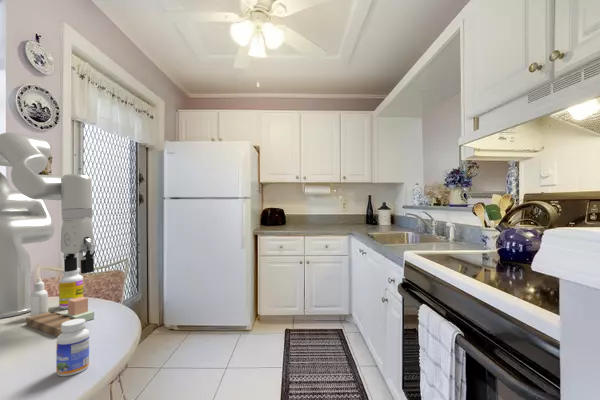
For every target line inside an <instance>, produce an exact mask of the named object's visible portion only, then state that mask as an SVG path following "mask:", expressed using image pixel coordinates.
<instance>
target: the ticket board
mask: <svg viewBox="0 0 600 400" xmlns="http://www.w3.org/2000/svg"><path fill="white" fill-rule="evenodd" d="M73 319H76V318H73V317H69V316H66V315H62V313H59V312H55V311H52V310H51V311H48V312H46V313H42V314H39V315H35V316H31V315H30V316H27V317H26V319H25V320H26V325H27V326H29V327H32V328H34V329H37V330H40V331H42V332H45V333H47V334H50V335H52V336H55V337H58V336H59V335H60V334H62V333H63V332H61V324H62V323H64V322H66V321H69V320H73ZM84 329H86V326H85V327H84Z"/></svg>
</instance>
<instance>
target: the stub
mask: <svg viewBox="0 0 600 400" xmlns="http://www.w3.org/2000/svg"><path fill="white" fill-rule="evenodd" d="M88 301H89V298H86V297H84V296H83V297H78V298H74V299H70V300H68V309H67V311H66V312H61V314H62V315H66V316H69V317H73V318H76V319H85V322H88V321H90V320H95V311H92V310H89V302H88Z"/></svg>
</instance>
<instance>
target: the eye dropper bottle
mask: <svg viewBox="0 0 600 400" xmlns="http://www.w3.org/2000/svg"><path fill="white" fill-rule="evenodd" d="M46 312H49V294H48V291H47V290H46V289H45V281H44V282H43V281H42V279H41V278H40V277H39V278H37V281H36V282H35V283H34V284H33V291H32V292H31V311H30V317H31V316H35V315H39V314H42V313H46Z"/></svg>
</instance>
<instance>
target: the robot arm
mask: <svg viewBox="0 0 600 400" xmlns="http://www.w3.org/2000/svg"><path fill="white" fill-rule="evenodd" d="M51 148H52V147H51V145H50V143H48V142H47V140H46V139H43V138H42V137H39V136H32V135H28V134H22V133H17V132H3V133H1V134H0V167H10V168H11V167H12V168H11V172H10V178H11V182H12V184H13V186H14V187H15V189H14V188H12V186H11V185H10V182H9V180H8V178H7V177H6V176H5V175H4V174H3V173H2V172H1V171H0V319H3V318H9V317H15V316H20V315H23V314H26V313H29V312H30V313H31V293H32V292H31V291H32V290H31V289H32V285H31V283H32V282H31V278H32V277H31V255H30V253H29V251H28V250H27V249H26V248H25V247H24V246H23V245H25V244H26V245H27V244H37V243H42V242H46V241H49V240H50V239H52V238H53V237H54V234H55V225H54V220H53V219H52V217H51V215H50V212H49V210H48V208H47V205H46V203H45V201H60V208H61V209H60V210H61V211H60V212H61V221H62V223H61V228H60V252H61V253H62V254H63V257H62V258H63V262H64V263H63V265H64V267H63V268H64V269H63V270H64V271H65V272H69V271H74V270H77V268H78V258H77V254H78V253H79V255H80V258H81V259H80V273H81V274H83V275H84V274H89V273H93V272H94V271H95V265H94V263H95V262H94V261H95V260H94V259H95V253H96V242H94V230H93V228H94V227H93V223H92V220H93V193H92V189H93V188H92V179H91V177H90V176H89V175H86V174H81V173H80V174H78V173H77V174H76V173H70V174H64V175H62V176H61V175H60V176H59V175H50V174H40V173H42V172H43V171H45V169H46V168H47V166H48V163H49V162H48V161H49V160H48V159H49V158H50V156H51V154H52V149H51Z"/></svg>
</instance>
